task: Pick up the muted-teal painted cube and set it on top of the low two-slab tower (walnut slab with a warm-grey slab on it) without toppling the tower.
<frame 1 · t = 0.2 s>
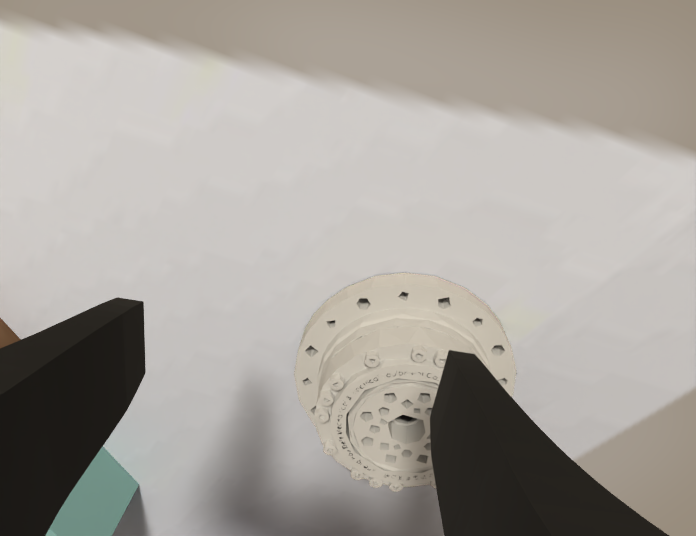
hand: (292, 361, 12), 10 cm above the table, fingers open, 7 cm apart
cube: (77, 467, 28), on the table
mechanical component: (401, 361, 24), on the table
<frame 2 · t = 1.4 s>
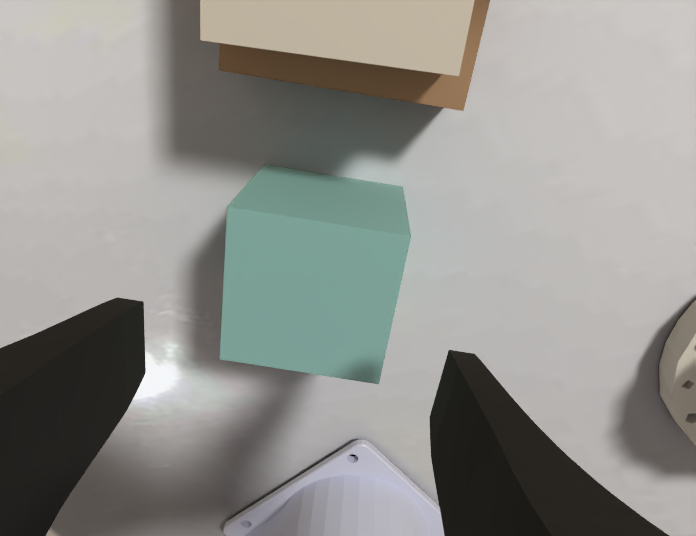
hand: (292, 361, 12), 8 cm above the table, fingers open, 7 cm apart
cube: (325, 239, 19), on the table
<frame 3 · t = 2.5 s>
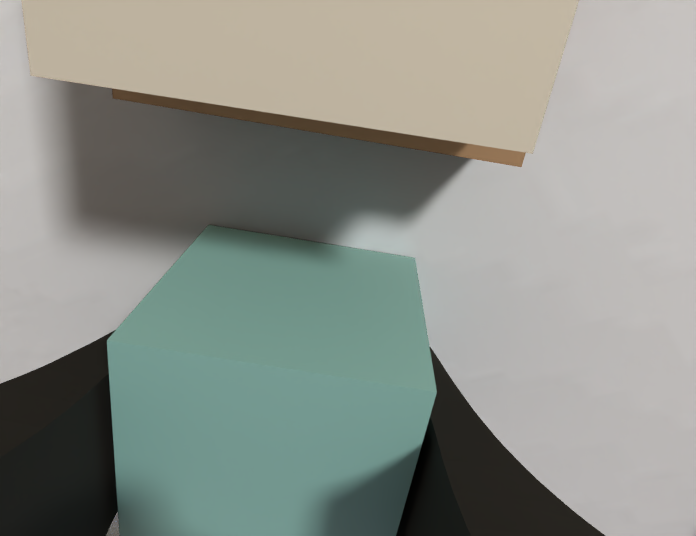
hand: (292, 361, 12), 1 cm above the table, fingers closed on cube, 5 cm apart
cube: (300, 329, 13), on the table, touching gripper
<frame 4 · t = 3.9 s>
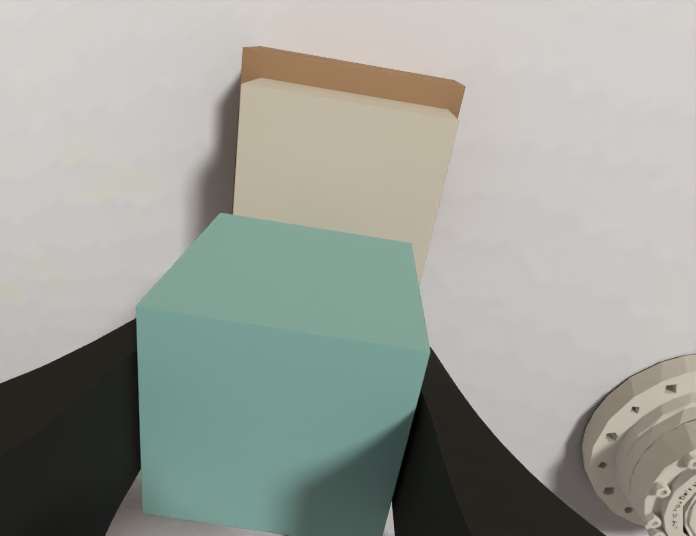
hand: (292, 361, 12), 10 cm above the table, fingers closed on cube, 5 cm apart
cube: (305, 311, 14), point 7 cm above the table, touching gripper
slab base: (343, 157, 20), on the table, touching slab top
mechanical component: (683, 431, 25), on the table
slab top: (340, 185, 17), point 3 cm above the table, touching slab base
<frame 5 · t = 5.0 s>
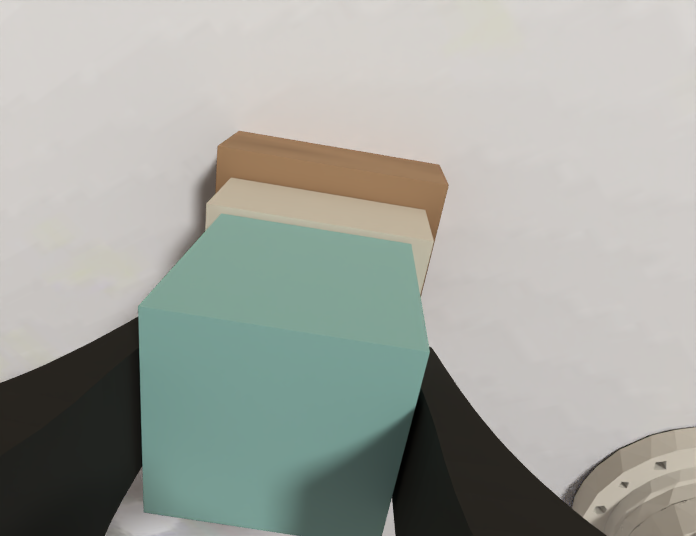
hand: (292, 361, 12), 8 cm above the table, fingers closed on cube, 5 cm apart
cube: (305, 311, 14), point 5 cm above the table, touching gripper
slab base: (326, 236, 19), on the table, touching slab top
mechanical component: (674, 499, 24), on the table
slab top: (316, 280, 17), point 3 cm above the table, touching slab base
when the fingers open (8 cm above the table, at t = 5.0 s): cube stays where it is, point 5 cm above the table.
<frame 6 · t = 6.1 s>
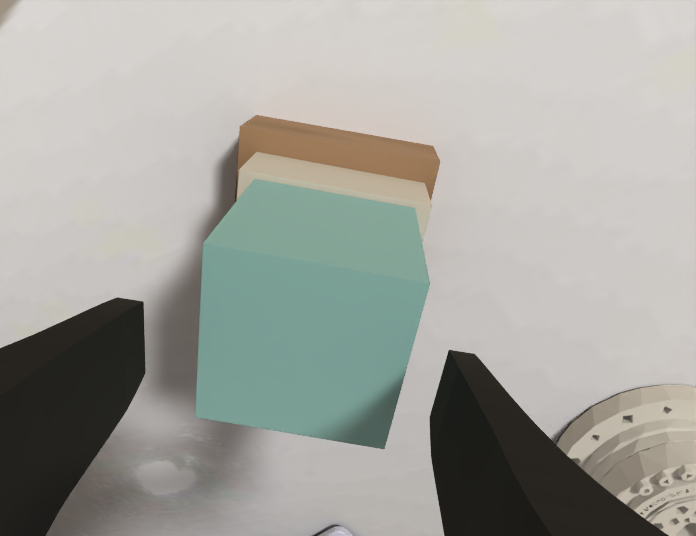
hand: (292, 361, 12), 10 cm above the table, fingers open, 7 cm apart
cube: (323, 265, 17), point 5 cm above the table
slab base: (332, 211, 22), on the table
mechanical component: (644, 455, 26), on the table
slab top: (327, 244, 19), point 3 cm above the table
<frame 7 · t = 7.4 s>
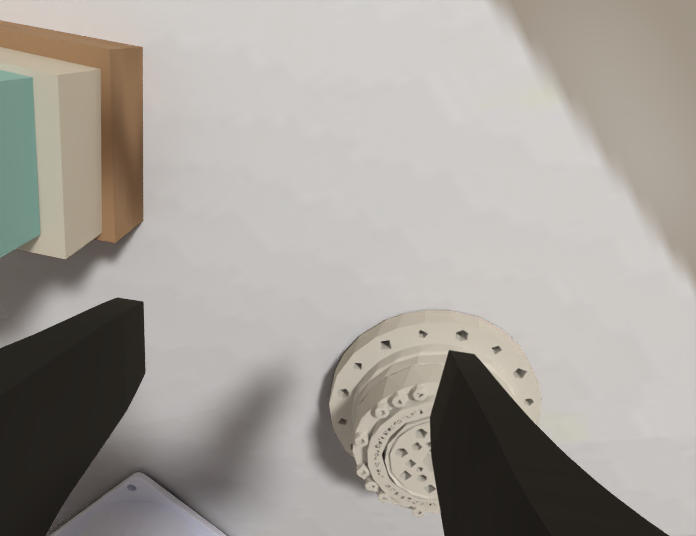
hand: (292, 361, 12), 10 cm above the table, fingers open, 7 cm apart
slab base: (62, 122, 21), on the table, touching slab top
mechanical component: (430, 390, 25), on the table
slab top: (17, 138, 18), point 3 cm above the table, touching slab base
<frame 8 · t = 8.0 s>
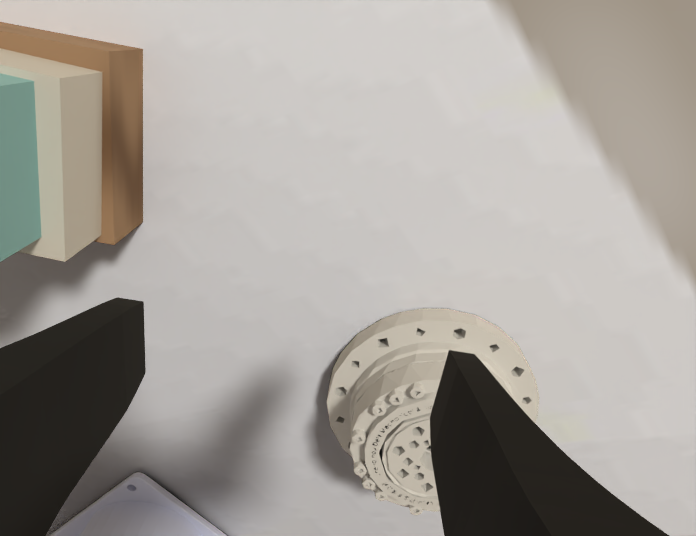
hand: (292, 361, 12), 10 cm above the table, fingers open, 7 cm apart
slab base: (61, 124, 21), on the table, touching slab top
mechanical component: (428, 389, 25), on the table
slab top: (18, 140, 18), point 3 cm above the table, touching cube, slab base
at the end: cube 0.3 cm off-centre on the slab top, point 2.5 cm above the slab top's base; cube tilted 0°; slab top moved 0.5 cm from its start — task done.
